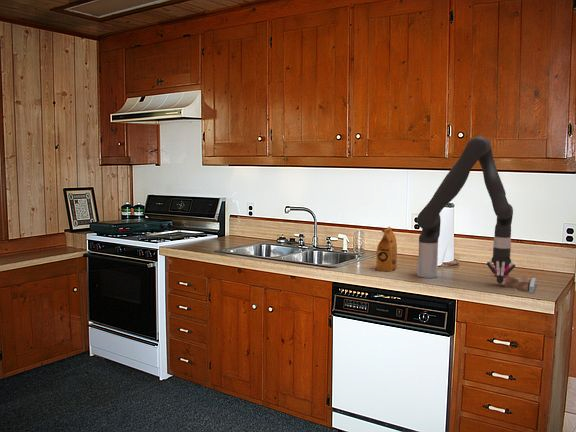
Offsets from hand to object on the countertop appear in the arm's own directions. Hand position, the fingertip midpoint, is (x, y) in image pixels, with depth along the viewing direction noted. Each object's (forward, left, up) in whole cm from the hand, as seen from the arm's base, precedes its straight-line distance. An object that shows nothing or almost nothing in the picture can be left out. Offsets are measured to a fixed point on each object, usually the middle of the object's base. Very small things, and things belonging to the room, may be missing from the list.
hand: (499, 283), depth 258 cm
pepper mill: (-1, +20, -1) cm, 20 cm away
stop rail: (+14, 0, -1) cm, 14 cm away
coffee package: (-57, +10, -1) cm, 58 cm away
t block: (+7, 0, -1) cm, 7 cm away
